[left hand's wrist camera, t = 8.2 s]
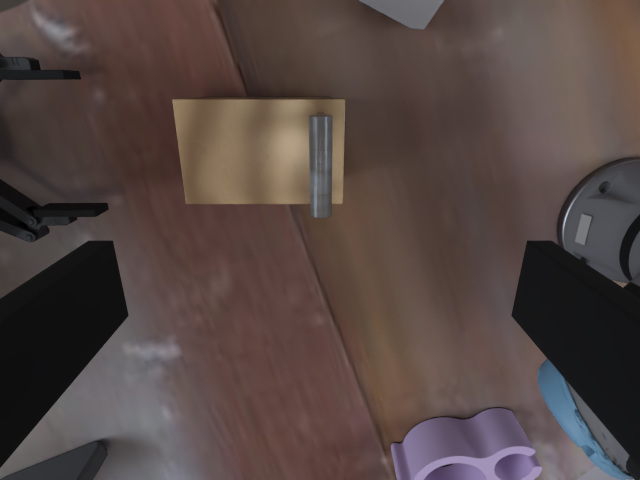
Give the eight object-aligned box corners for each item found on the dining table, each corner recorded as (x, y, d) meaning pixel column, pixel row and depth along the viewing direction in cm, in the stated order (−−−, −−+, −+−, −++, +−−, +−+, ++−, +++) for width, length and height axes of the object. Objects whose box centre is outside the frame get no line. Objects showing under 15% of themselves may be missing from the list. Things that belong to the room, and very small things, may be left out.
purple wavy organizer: (504, 392, 59) (527, 429, 53) (526, 446, 63) (549, 487, 57) (384, 435, 63) (391, 475, 56) (411, 484, 67) (421, 526, 60)
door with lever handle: (344, 98, 36) (351, 101, 28) (342, 200, 39) (348, 229, 31) (176, 98, 36) (134, 101, 28) (189, 201, 39) (156, 230, 31)
